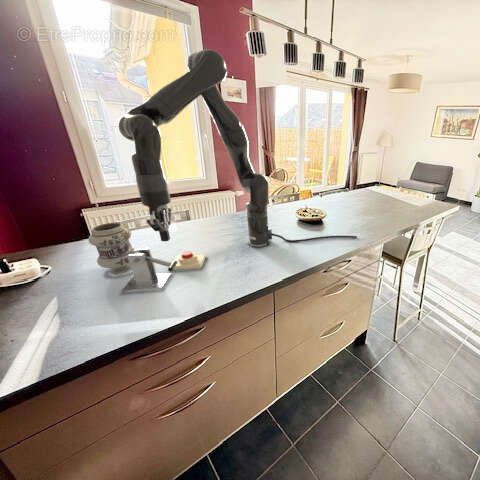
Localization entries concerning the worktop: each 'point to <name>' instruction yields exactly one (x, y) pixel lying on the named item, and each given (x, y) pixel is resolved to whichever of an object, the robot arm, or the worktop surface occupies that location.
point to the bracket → (144, 272)
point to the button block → (190, 261)
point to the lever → (159, 261)
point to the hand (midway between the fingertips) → (166, 240)
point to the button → (187, 254)
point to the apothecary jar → (112, 246)
